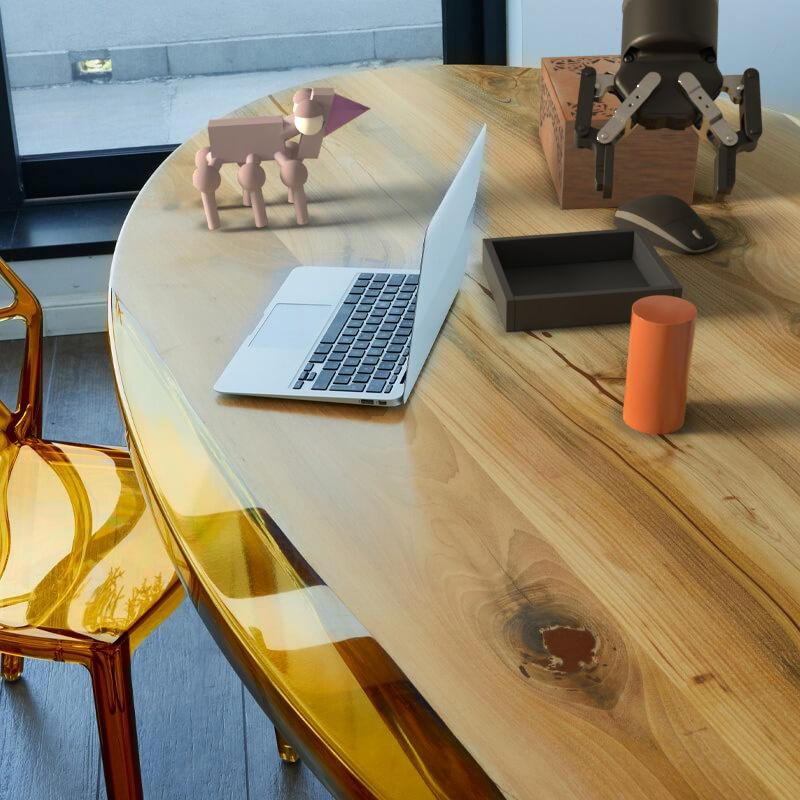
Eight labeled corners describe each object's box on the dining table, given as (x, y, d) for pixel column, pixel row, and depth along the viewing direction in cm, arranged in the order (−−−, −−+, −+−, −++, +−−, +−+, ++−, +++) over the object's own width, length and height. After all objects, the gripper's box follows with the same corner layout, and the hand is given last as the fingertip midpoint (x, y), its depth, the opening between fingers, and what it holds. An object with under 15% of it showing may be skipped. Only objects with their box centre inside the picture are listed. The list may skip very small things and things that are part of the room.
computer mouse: (680, 267, 106) (684, 230, 104) (598, 228, 115) (600, 192, 113) (731, 250, 109) (736, 213, 107) (647, 213, 118) (650, 178, 116)
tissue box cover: (691, 204, 120) (701, 116, 114) (561, 209, 120) (565, 120, 115) (649, 131, 141) (655, 53, 136) (538, 134, 142) (541, 57, 137)
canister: (672, 407, 85) (685, 292, 80) (691, 439, 81) (706, 321, 76) (615, 411, 85) (624, 297, 79) (631, 444, 81) (641, 326, 75)
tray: (637, 262, 108) (640, 227, 106) (678, 326, 96) (683, 287, 94) (482, 273, 107) (482, 238, 105) (505, 339, 95) (506, 300, 93)
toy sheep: (373, 190, 127) (367, 74, 120) (379, 225, 118) (373, 102, 111) (202, 202, 126) (186, 85, 119) (196, 238, 117) (177, 114, 110)
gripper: (582, -18, 85) (571, 174, 81) (770, -19, 82) (768, 178, 79) (579, 35, 92) (569, 213, 88) (753, 35, 90) (749, 218, 86)
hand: (663, 196), depth 84 cm, fingers open, 8 cm apart
